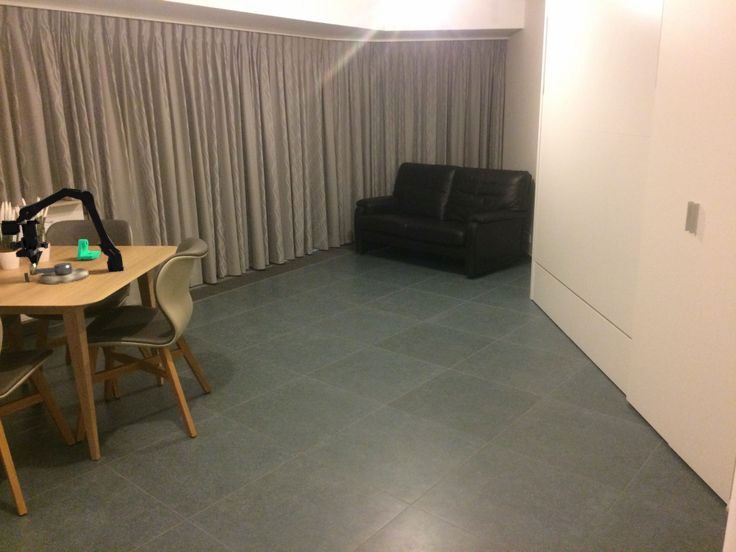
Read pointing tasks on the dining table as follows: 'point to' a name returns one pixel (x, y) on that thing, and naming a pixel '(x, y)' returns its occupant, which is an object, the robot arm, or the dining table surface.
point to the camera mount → (86, 251)
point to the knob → (51, 269)
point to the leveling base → (61, 276)
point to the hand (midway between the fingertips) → (35, 267)
